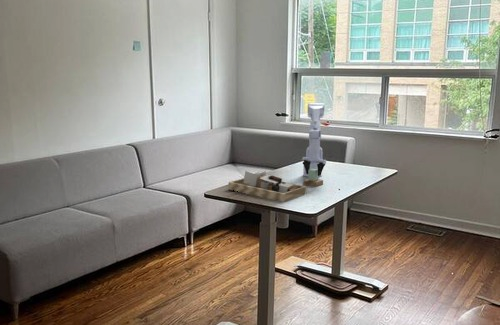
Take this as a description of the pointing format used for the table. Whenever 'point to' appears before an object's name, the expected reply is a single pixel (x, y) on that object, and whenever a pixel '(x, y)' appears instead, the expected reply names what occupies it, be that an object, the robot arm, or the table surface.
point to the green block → (313, 174)
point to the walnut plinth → (313, 182)
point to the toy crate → (267, 191)
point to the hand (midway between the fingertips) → (313, 174)
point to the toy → (267, 182)
